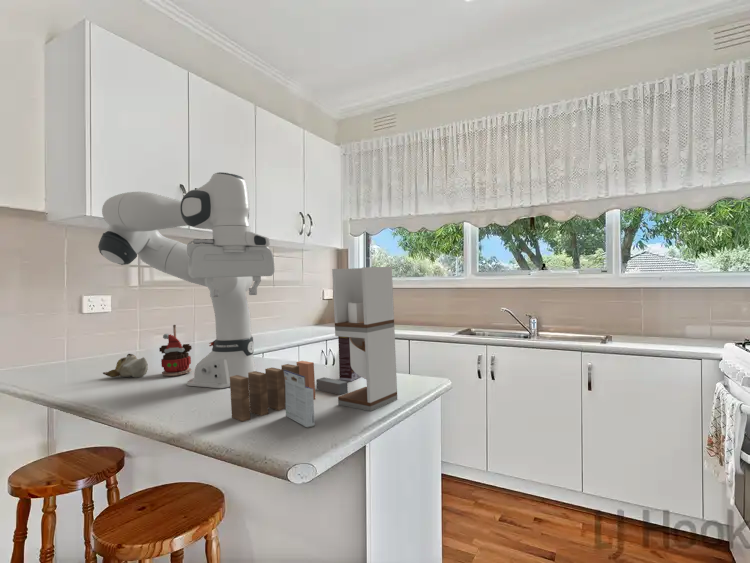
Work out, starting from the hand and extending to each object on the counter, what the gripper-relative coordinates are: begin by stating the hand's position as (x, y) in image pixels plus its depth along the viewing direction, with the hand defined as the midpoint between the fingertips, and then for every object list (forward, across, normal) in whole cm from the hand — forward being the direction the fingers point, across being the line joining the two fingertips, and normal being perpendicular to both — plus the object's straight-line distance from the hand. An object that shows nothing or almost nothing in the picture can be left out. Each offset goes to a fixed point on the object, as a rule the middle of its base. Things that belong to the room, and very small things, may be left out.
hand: (234, 296), depth 108 cm
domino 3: (+29, +10, 0) cm, 31 cm away
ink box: (+30, +10, -14) cm, 34 cm away
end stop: (+29, +28, +4) cm, 41 cm away
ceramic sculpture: (+30, -16, +73) cm, 81 cm away
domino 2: (+29, +5, -2) cm, 30 cm away
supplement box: (+29, +41, +13) cm, 52 cm away
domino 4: (+29, +14, +1) cm, 33 cm away
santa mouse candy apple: (+30, -2, +64) cm, 71 cm away
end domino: (+29, +19, +2) cm, 35 cm away
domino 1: (+29, 0, -3) cm, 30 cm away
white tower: (+29, +30, -13) cm, 44 cm away
